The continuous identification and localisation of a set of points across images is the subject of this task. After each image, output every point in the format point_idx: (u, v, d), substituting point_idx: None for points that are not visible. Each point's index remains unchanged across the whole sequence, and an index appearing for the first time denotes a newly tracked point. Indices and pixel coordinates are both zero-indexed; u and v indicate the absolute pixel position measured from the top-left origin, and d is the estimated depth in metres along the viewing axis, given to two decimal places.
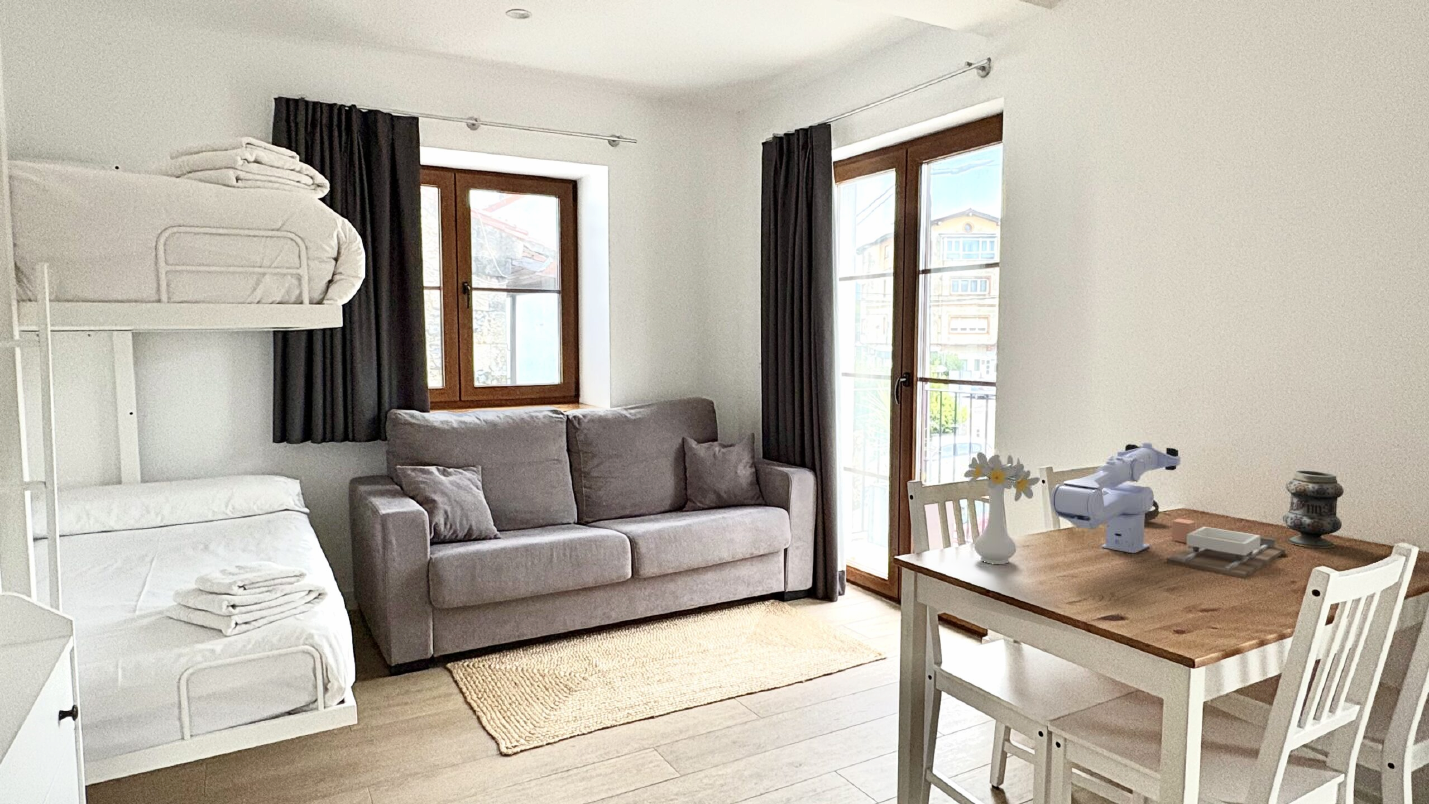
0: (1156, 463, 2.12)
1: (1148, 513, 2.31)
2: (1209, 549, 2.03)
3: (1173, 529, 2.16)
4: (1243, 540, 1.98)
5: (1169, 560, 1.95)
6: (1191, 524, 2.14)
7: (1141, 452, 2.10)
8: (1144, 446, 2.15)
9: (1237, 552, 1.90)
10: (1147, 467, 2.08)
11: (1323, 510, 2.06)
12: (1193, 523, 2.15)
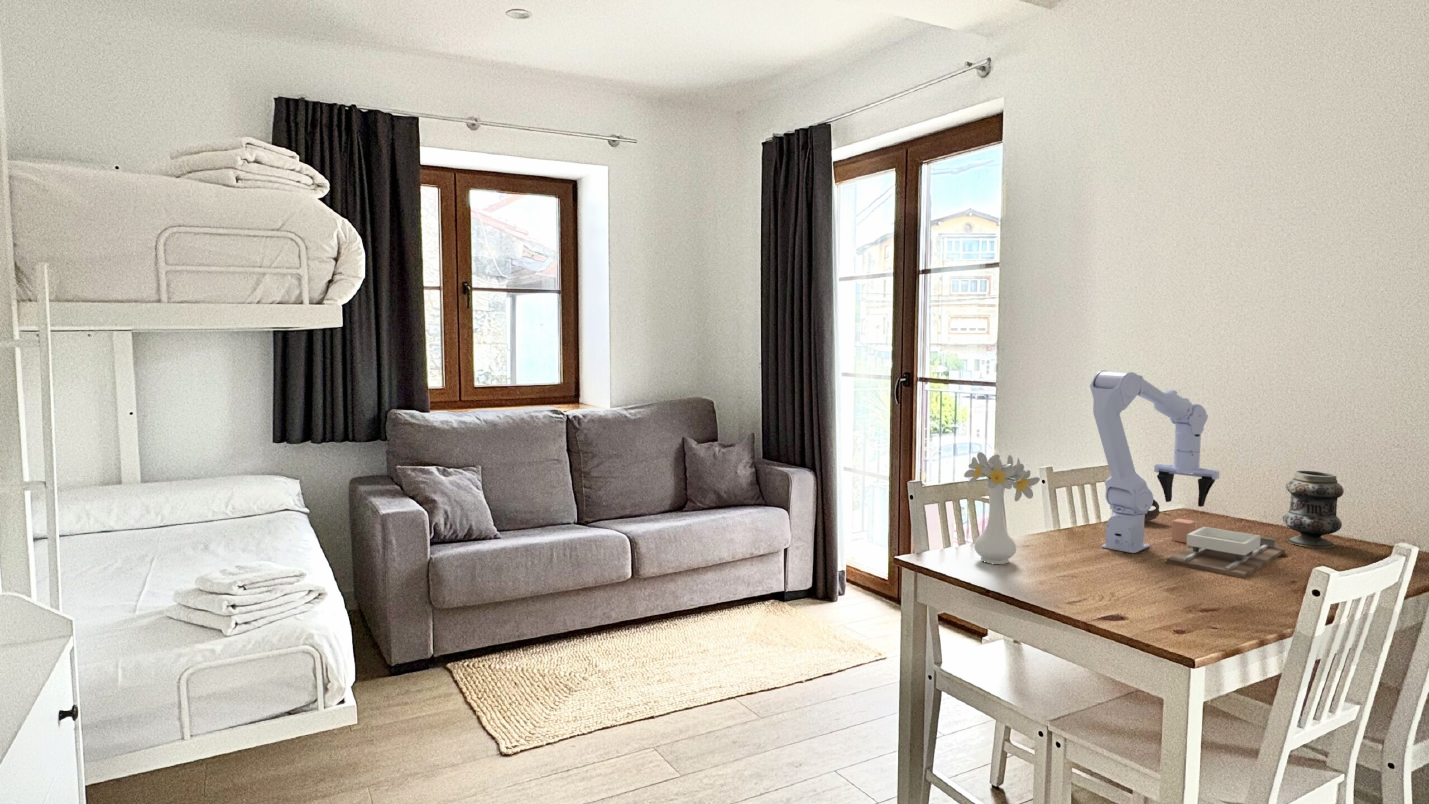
0: (1197, 465, 2.12)
1: (1149, 513, 2.32)
2: (1209, 549, 2.03)
3: (1173, 529, 2.16)
4: (1243, 540, 1.98)
5: (1169, 560, 1.95)
6: (1191, 524, 2.14)
7: None
8: None
9: (1237, 552, 1.90)
10: (1195, 443, 2.11)
11: (1323, 510, 2.06)
12: (1193, 523, 2.15)
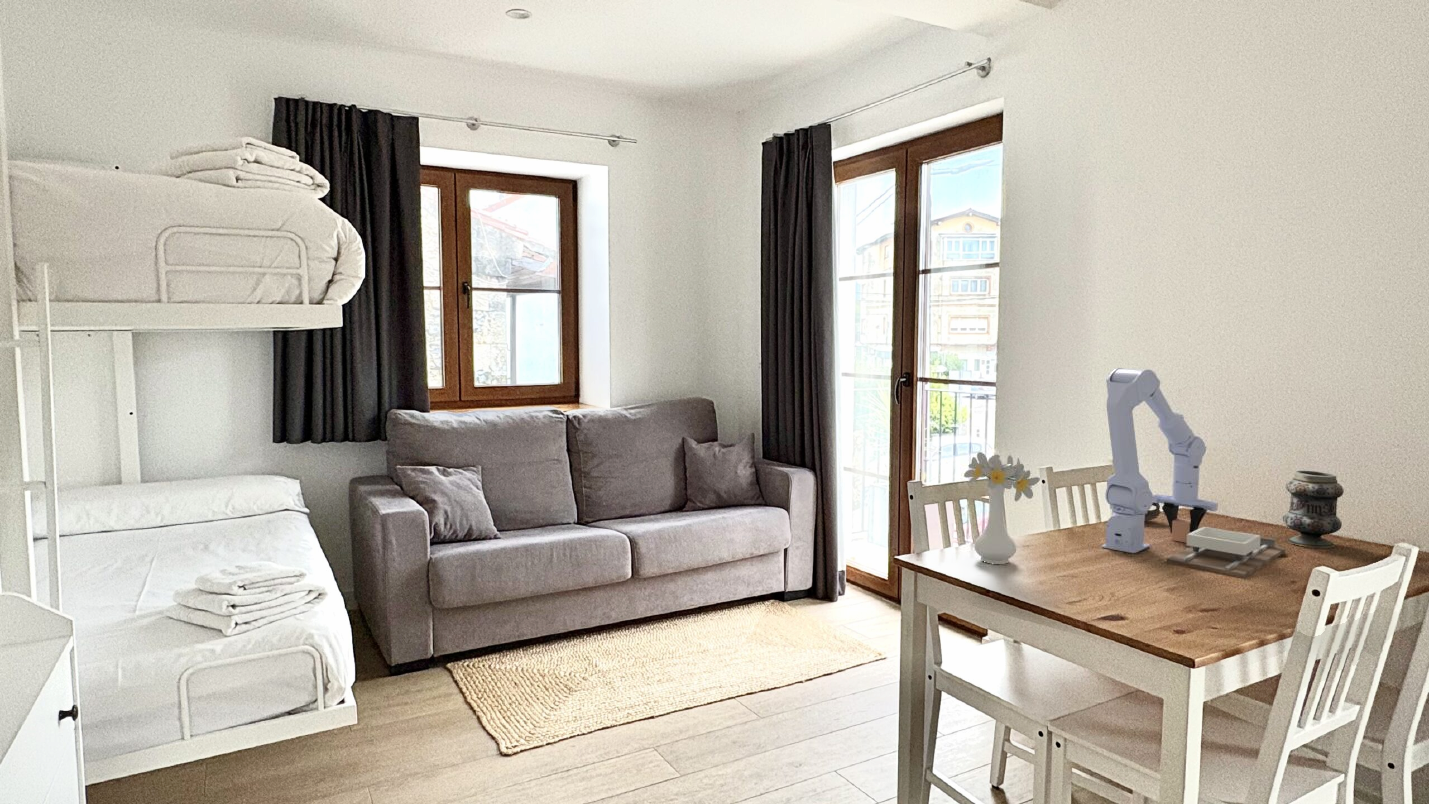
0: (1195, 497, 2.12)
1: (1149, 512, 2.32)
2: (1209, 549, 2.03)
3: (1173, 529, 2.16)
4: (1243, 540, 1.98)
5: (1169, 560, 1.95)
6: None
7: None
8: None
9: (1237, 552, 1.90)
10: (1193, 475, 2.12)
11: (1323, 510, 2.06)
12: None
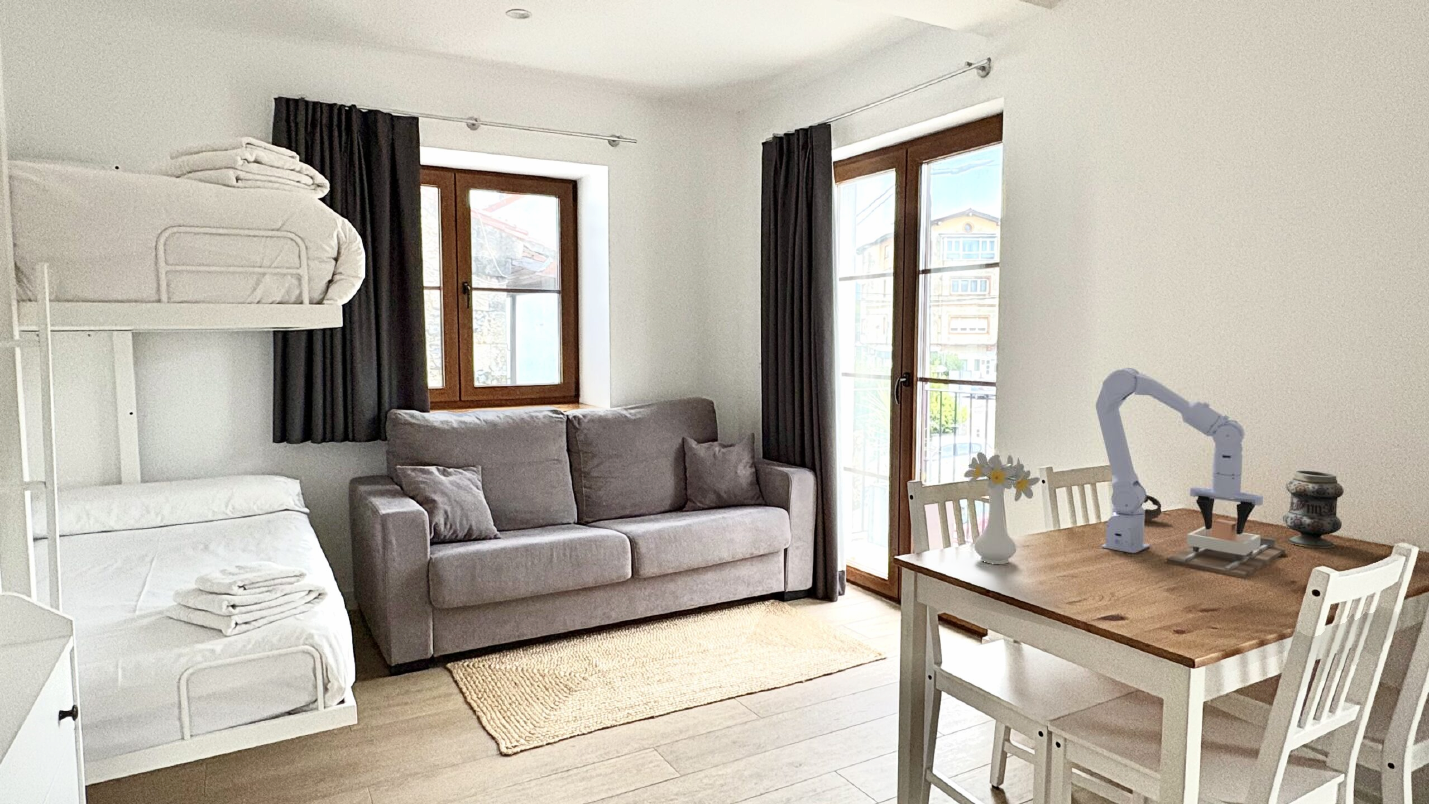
0: (1238, 490, 1.94)
1: (1151, 512, 2.33)
2: (1209, 549, 2.03)
3: (1213, 531, 1.97)
4: (1243, 540, 1.98)
5: (1169, 560, 1.95)
6: (1233, 525, 1.95)
7: (1240, 470, 1.93)
8: None
9: (1237, 552, 1.90)
10: (1222, 465, 1.94)
11: (1323, 510, 2.06)
12: (1235, 524, 1.96)
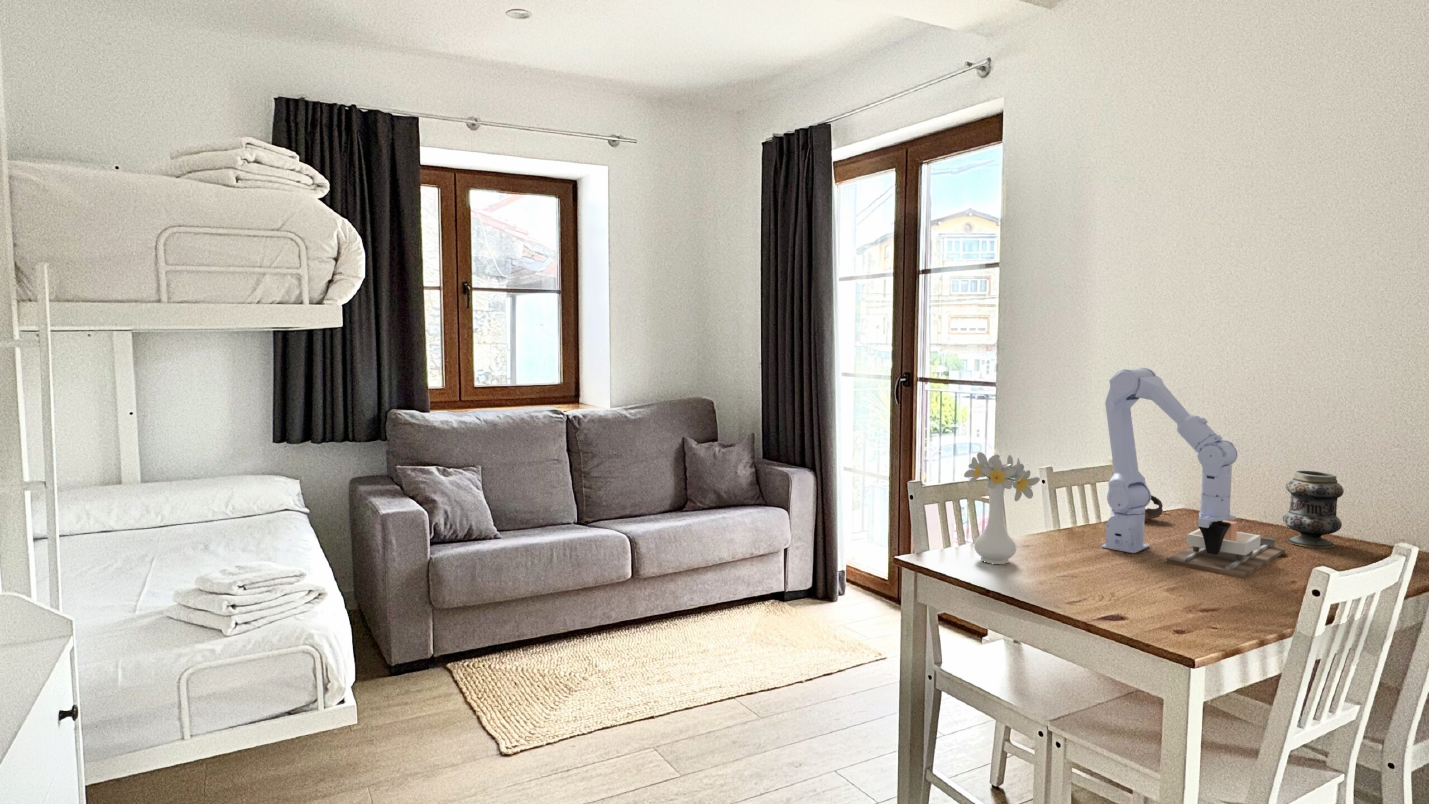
0: (1207, 510, 1.91)
1: (1152, 511, 2.33)
2: None
3: None
4: (1243, 540, 1.99)
5: (1169, 560, 1.95)
6: (1233, 525, 1.95)
7: (1226, 492, 1.89)
8: (1230, 515, 1.90)
9: (1237, 552, 1.90)
10: (1207, 485, 1.90)
11: (1323, 510, 2.06)
12: (1236, 524, 1.96)
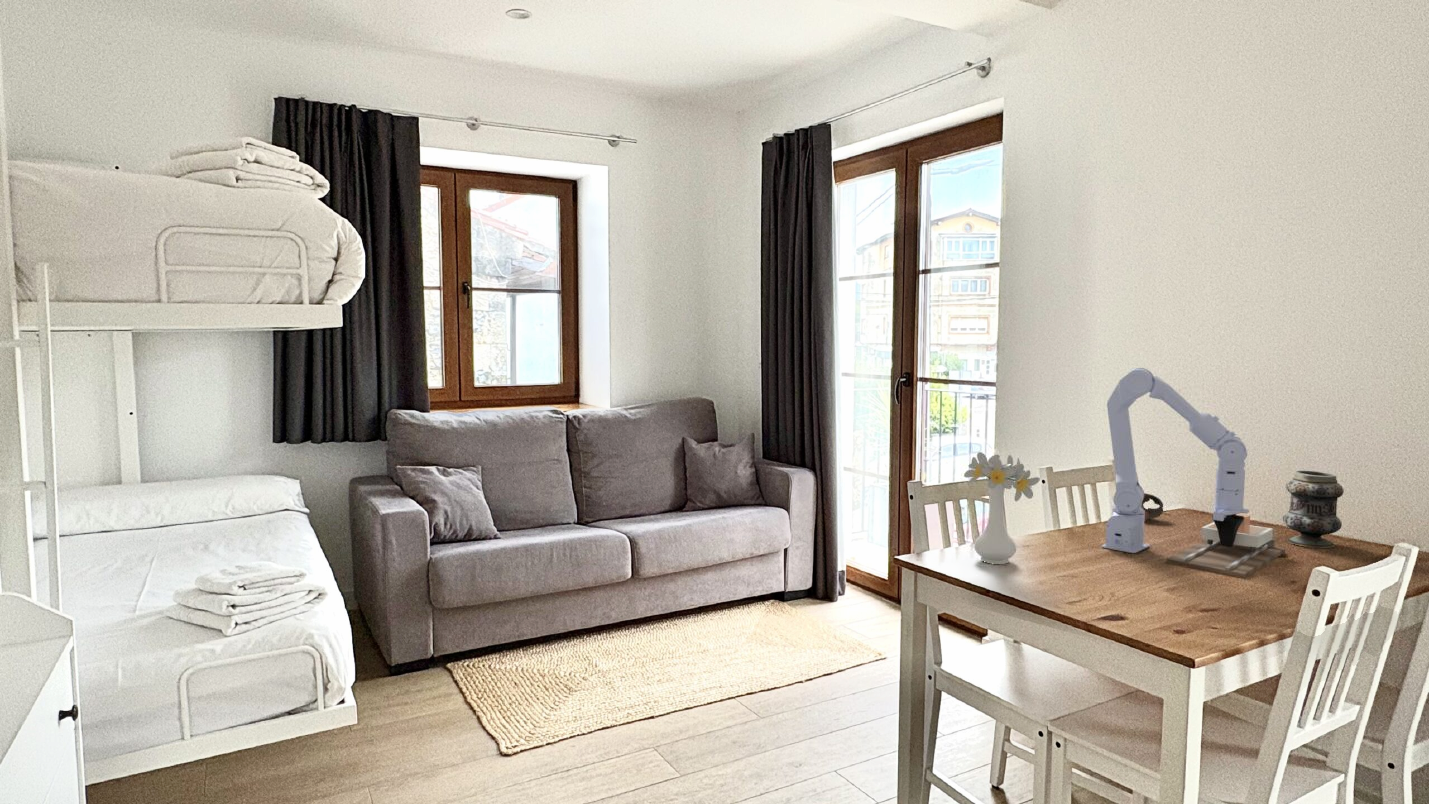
0: (1221, 504, 1.97)
1: (1153, 511, 2.34)
2: (1209, 549, 2.03)
3: None
4: (1256, 533, 2.05)
5: (1169, 560, 1.95)
6: (1246, 519, 2.02)
7: (1243, 486, 1.96)
8: (1244, 509, 1.96)
9: (1250, 544, 1.97)
10: (1227, 481, 1.96)
11: (1323, 510, 2.06)
12: (1249, 518, 2.03)
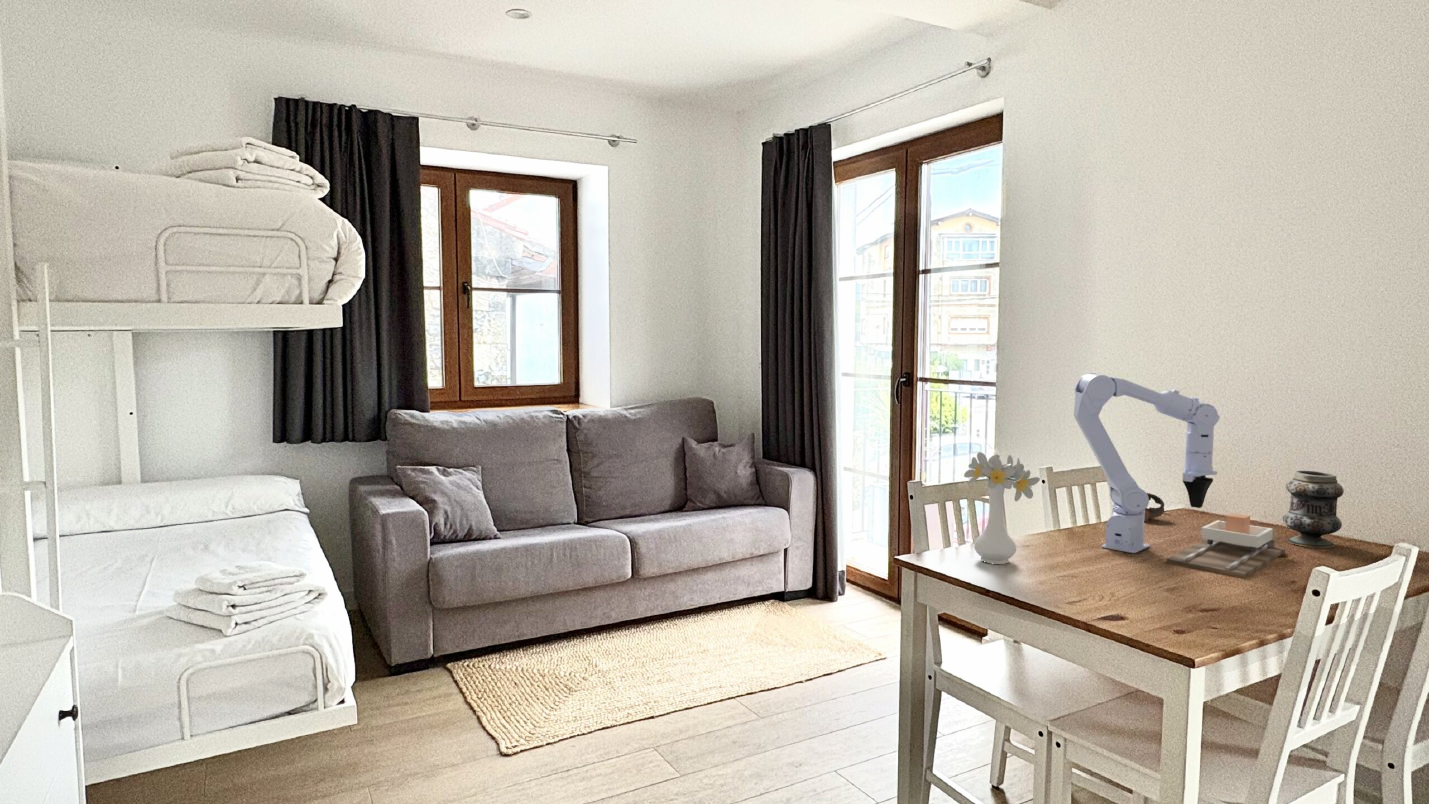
0: (1191, 466, 2.04)
1: (1154, 510, 2.35)
2: (1209, 549, 2.03)
3: (1227, 524, 2.04)
4: (1256, 533, 2.05)
5: (1169, 560, 1.95)
6: (1246, 519, 2.02)
7: (1212, 448, 2.04)
8: (1213, 471, 2.04)
9: (1250, 544, 1.97)
10: (1201, 444, 2.03)
11: (1323, 510, 2.06)
12: (1249, 518, 2.03)
